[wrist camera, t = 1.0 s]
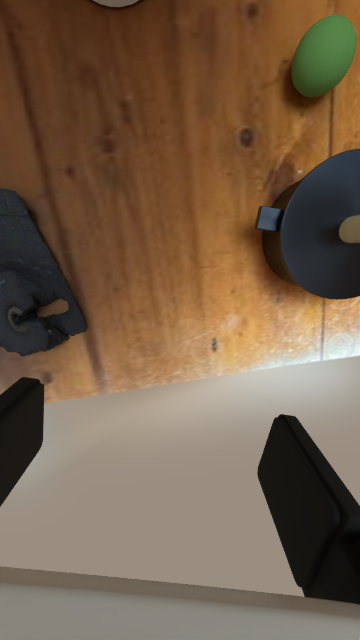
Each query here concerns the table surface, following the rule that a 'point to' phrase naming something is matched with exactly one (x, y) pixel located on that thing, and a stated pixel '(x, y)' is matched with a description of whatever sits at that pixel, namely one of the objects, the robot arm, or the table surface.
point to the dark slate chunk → (30, 285)
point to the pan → (274, 233)
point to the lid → (325, 229)
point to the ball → (323, 56)
